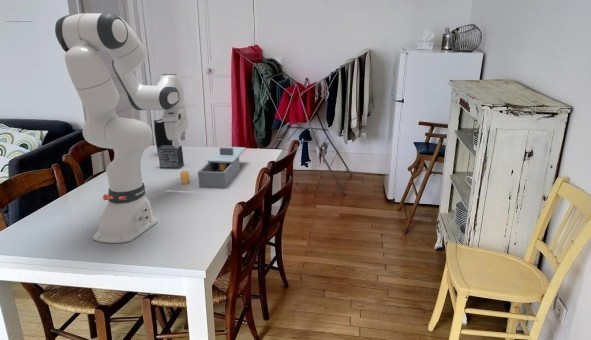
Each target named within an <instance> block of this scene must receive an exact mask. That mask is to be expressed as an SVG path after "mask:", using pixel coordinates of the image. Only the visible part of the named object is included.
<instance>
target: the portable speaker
mask: <svg viewBox="0 0 591 340" xmlns="http://www.w3.org/2000/svg"><path fill="white" fill-rule="evenodd" d="M164 123H165V122H163V121H162V118H161V119H154V120H153V126H154V127H153V128H154V138H155V139H154V140H155V145H156V149H157V150H156V151H157V152H158V148H159V147H161V146H162V145H170V146H174V143H173V141H172V140H168V138H167V135H166V131H165V126H164Z"/></svg>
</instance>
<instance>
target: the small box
mask: <svg viewBox="0 0 591 340" xmlns="http://www.w3.org/2000/svg"><path fill="white" fill-rule="evenodd" d="M183 154H184V153H183V146H182V145H180V146H179V147H178V148H175V146H174V145H173V146H170V145H162V146H161V147H159V148H158V151H157V155H158V161H159V167H160V169H181V168H182V167H183V166H184V165H185V161H184V155H183Z"/></svg>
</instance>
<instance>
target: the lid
mask: <svg viewBox="0 0 591 340" xmlns="http://www.w3.org/2000/svg"><path fill="white" fill-rule="evenodd" d="M246 149H247V147H243V146H241V147H240V146H221V147H220V148H219V149H218V150H217V151H216V152H215V153H214V154H213V155H212V156H210V157H209V158H208V159H207V163H208V162H214V163H234V161H235V160H236V159H237V158H238V157H239V158H240V156H241V155H242V154H243V153H244V151H245V150H246Z"/></svg>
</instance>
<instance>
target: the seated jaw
mask: <svg viewBox="0 0 591 340" xmlns="http://www.w3.org/2000/svg"><path fill="white" fill-rule="evenodd" d="M226 168H227V163H219V170H220V172H224V171H225V170H226Z"/></svg>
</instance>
